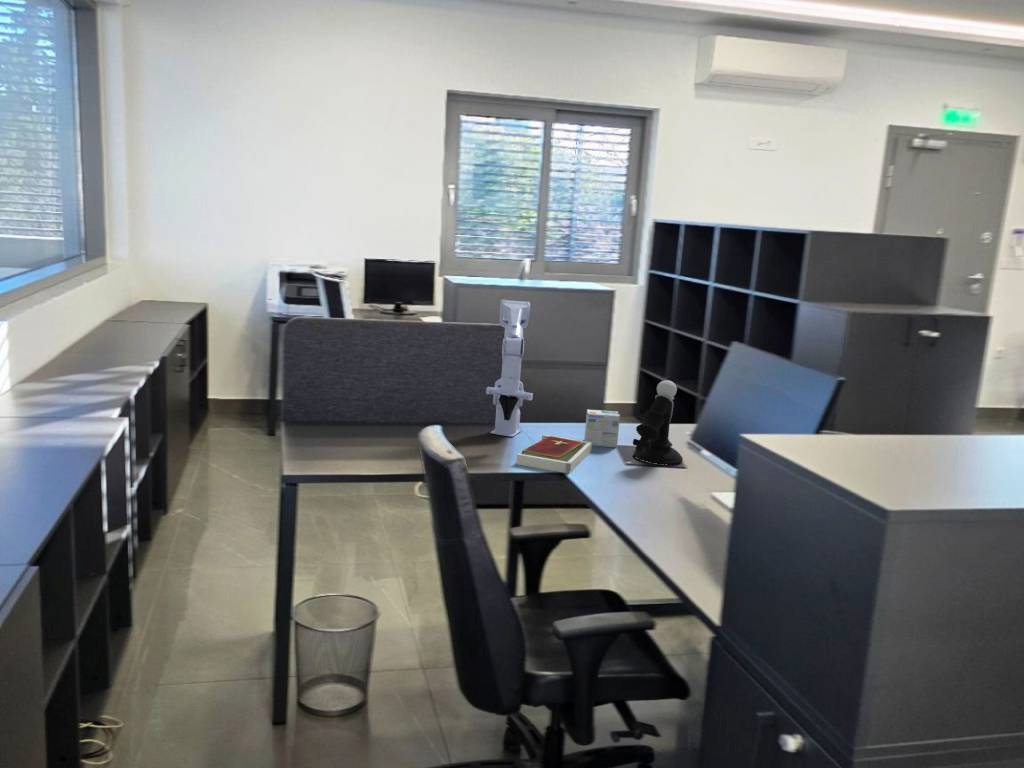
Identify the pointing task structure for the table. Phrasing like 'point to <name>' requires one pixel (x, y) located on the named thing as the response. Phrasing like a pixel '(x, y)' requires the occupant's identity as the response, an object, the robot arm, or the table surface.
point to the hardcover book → (554, 448)
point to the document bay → (555, 464)
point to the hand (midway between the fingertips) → (507, 419)
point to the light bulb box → (602, 428)
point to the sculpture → (658, 429)
